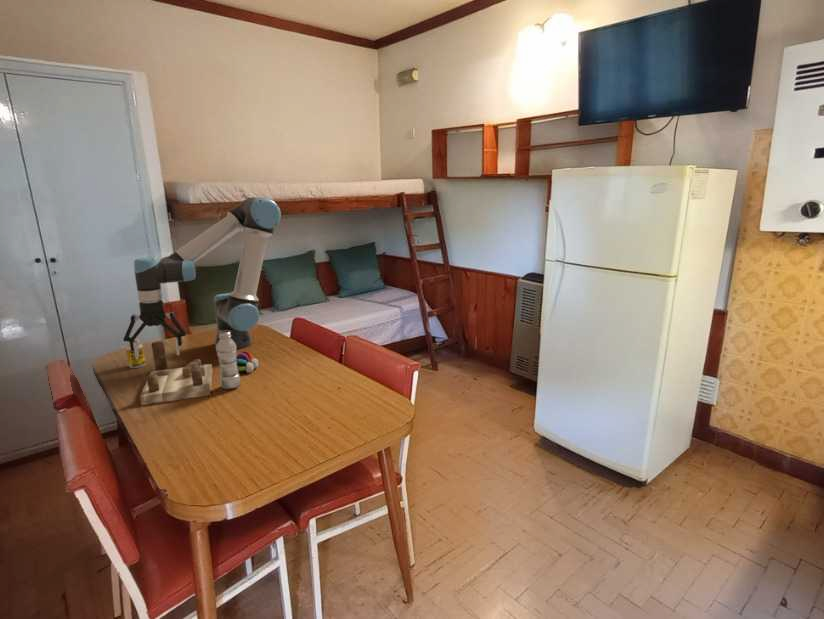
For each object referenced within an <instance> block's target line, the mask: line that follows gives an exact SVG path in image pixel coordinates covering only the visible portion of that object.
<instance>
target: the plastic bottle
mask: <svg viewBox="0 0 824 619" xmlns="http://www.w3.org/2000/svg"><path fill="white" fill-rule="evenodd" d="M230 337H231V333H230V331H228V330H225V331H220V332H219V338H220V340H219V341H218V343H217V345H216V348H215V351H216V354H217V358H218V363H219V375H220V376H219V383H220V386H221V387H222V389H225V390H232V389H236V388H238V387H239V386H240V384H241V375H240V373H239V371H238V368H237V362H236V360H237V349H236V344H235V342H234V341H233V340H232V339H231V338H230Z"/></svg>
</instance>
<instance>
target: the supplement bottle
mask: <svg viewBox="0 0 824 619" xmlns="http://www.w3.org/2000/svg"><path fill="white" fill-rule="evenodd" d="M135 340H137V344H138V351H139V358H138V359H135V352H134V350H131V347H130V342H128V341H127V346H126V347H125V349H126V357H127V361H128V362H127V363H128V366H129V368H131V369H137V368H142V367H144V366H145V365H146V358H145V353H144V346H143V344H141V342H140V339H136V338H135ZM135 340H134V341H135Z"/></svg>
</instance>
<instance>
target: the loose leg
mask: <svg viewBox="0 0 824 619" xmlns="http://www.w3.org/2000/svg"><path fill="white" fill-rule="evenodd" d="M151 350H152V356H153V362H154V368H155V370H154V371H160V370H168V369H169V368H168V362H167V357H166V356H167V354H166V350H165V343H164V341H161V340H160V341H154V342H152V343H151Z"/></svg>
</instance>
